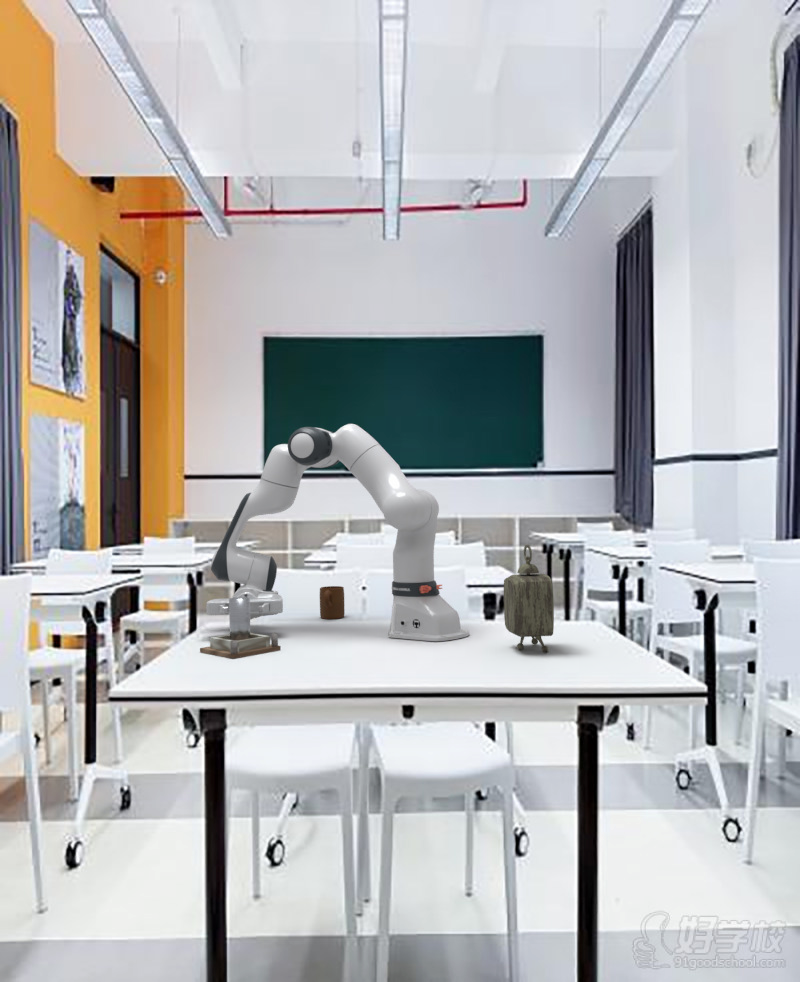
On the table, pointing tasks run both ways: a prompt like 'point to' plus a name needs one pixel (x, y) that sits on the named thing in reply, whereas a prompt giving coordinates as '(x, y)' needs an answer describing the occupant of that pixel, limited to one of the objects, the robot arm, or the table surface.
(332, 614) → the mug
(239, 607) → the pin
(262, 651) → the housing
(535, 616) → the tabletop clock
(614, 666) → the table surface
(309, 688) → the table surface
